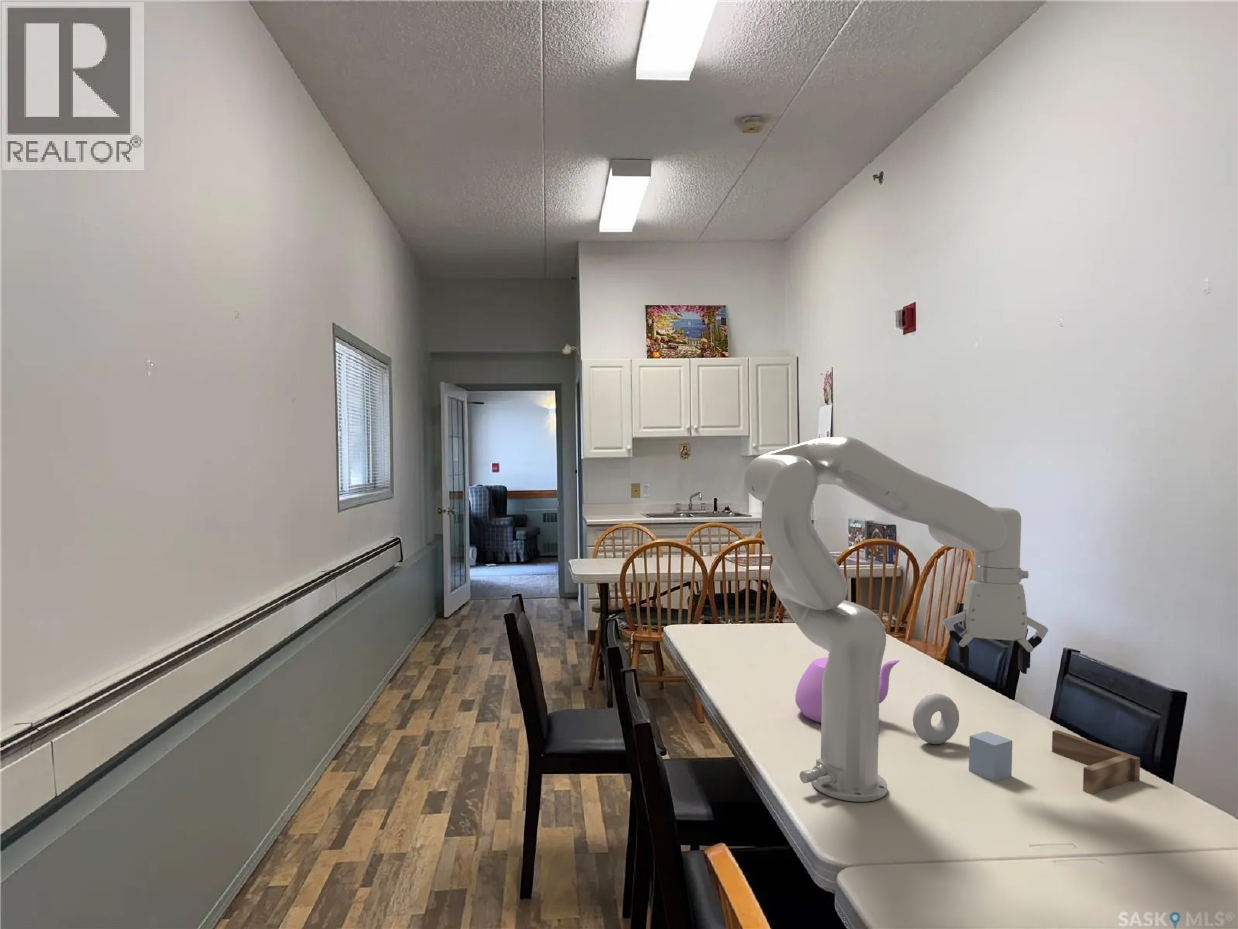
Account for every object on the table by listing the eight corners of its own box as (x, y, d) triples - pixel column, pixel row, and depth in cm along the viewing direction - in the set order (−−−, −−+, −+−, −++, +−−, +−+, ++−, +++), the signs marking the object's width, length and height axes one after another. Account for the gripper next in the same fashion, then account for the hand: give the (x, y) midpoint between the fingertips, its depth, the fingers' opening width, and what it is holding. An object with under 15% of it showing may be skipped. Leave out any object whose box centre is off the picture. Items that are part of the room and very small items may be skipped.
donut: (919, 749, 148) (920, 698, 148) (908, 742, 152) (909, 693, 151) (962, 744, 151) (963, 694, 151) (950, 738, 154) (951, 689, 154)
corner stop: (1096, 796, 129) (1097, 772, 129) (1013, 763, 142) (1014, 742, 142) (1139, 780, 136) (1140, 757, 136) (1056, 750, 149) (1056, 730, 149)
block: (993, 782, 134) (994, 745, 134) (968, 771, 139) (969, 735, 138) (1011, 776, 137) (1012, 740, 137) (986, 766, 141) (987, 731, 141)
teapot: (907, 741, 153) (908, 672, 152) (796, 731, 157) (797, 665, 157) (890, 705, 174) (892, 645, 174) (793, 697, 178) (794, 639, 178)
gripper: (1042, 575, 139) (1039, 668, 140) (941, 569, 144) (938, 660, 144) (1055, 582, 132) (1052, 680, 132) (948, 576, 136) (945, 670, 137)
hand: (993, 669), depth 138 cm, fingers open, 9 cm apart
